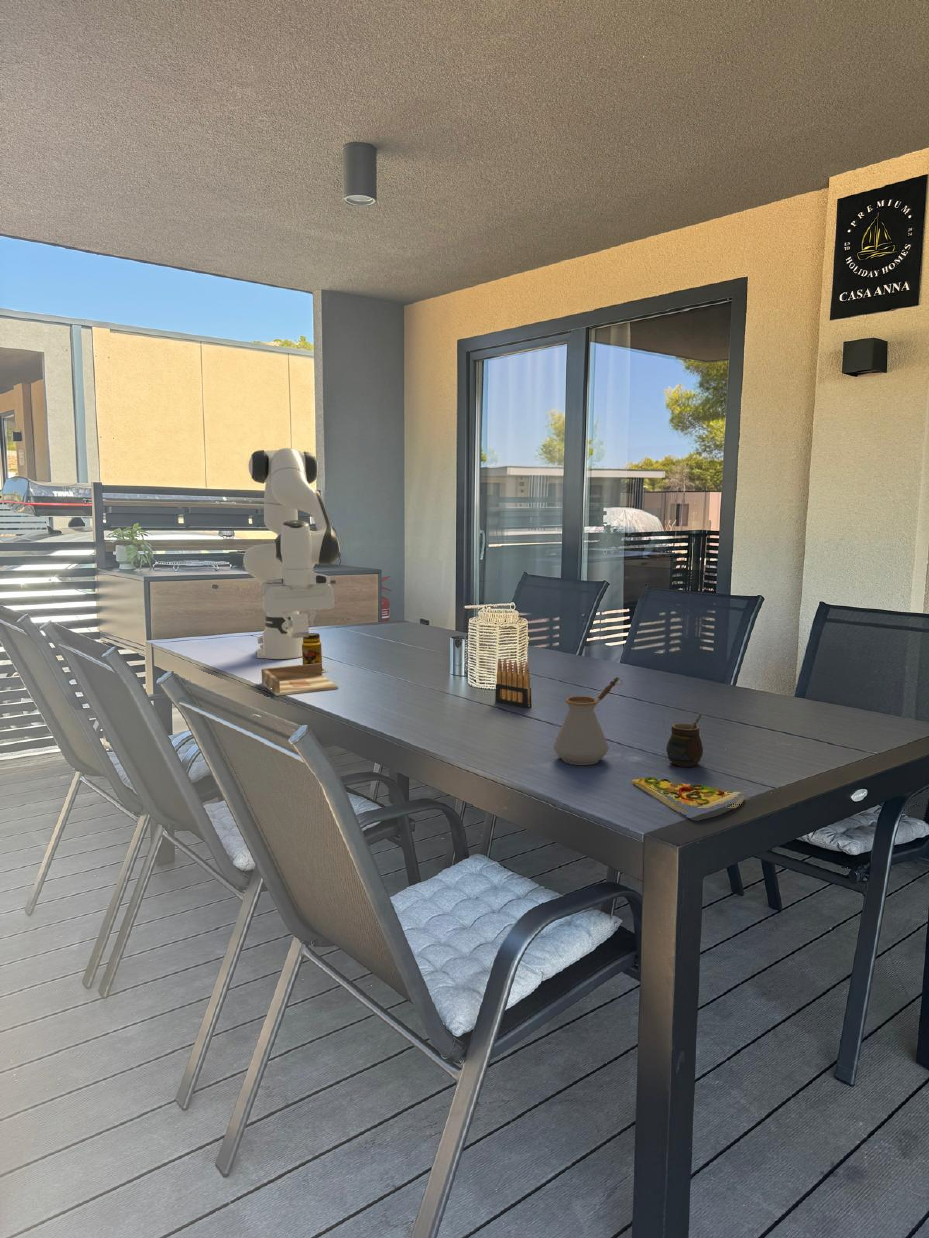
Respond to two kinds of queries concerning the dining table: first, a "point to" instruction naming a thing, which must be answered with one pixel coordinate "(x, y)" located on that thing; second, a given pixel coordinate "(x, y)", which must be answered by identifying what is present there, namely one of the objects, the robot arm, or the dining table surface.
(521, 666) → the ammunition clip
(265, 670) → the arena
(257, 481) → the robot arm
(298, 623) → the bracket
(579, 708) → the coffee pot
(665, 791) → the pizza slice
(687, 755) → the mate gourd
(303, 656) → the condiment
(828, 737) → the dining table surface
